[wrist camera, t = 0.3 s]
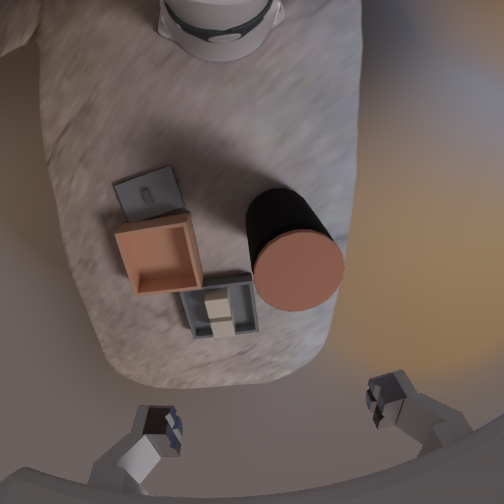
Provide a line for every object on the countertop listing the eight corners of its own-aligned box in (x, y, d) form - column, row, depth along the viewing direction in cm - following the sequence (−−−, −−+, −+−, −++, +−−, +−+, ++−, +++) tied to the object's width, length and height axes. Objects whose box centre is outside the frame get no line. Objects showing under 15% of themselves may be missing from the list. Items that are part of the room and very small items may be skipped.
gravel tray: (180, 282, 54) (178, 289, 52) (251, 273, 54) (252, 280, 52) (194, 330, 60) (193, 338, 58) (258, 323, 60) (259, 331, 58)
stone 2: (210, 309, 57) (210, 323, 53) (231, 306, 57) (232, 320, 53) (214, 324, 59) (214, 338, 55) (234, 322, 59) (235, 336, 55)
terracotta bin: (122, 223, 48) (114, 233, 44) (189, 211, 48) (186, 222, 44) (141, 282, 54) (135, 296, 50) (203, 274, 54) (201, 288, 50)
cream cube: (205, 287, 54) (204, 301, 51) (227, 285, 54) (227, 298, 51) (209, 305, 56) (209, 318, 53) (230, 302, 56) (231, 316, 53)
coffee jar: (262, 256, 53) (276, 324, 37) (233, 204, 48) (236, 258, 32) (318, 229, 51) (355, 288, 35) (293, 174, 47) (327, 215, 31)
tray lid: (116, 184, 45) (112, 187, 44) (171, 164, 44) (169, 166, 43) (131, 222, 48) (128, 226, 47) (185, 205, 48) (183, 208, 46)
